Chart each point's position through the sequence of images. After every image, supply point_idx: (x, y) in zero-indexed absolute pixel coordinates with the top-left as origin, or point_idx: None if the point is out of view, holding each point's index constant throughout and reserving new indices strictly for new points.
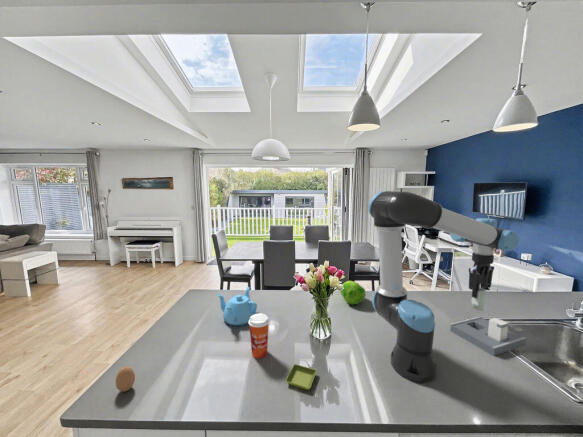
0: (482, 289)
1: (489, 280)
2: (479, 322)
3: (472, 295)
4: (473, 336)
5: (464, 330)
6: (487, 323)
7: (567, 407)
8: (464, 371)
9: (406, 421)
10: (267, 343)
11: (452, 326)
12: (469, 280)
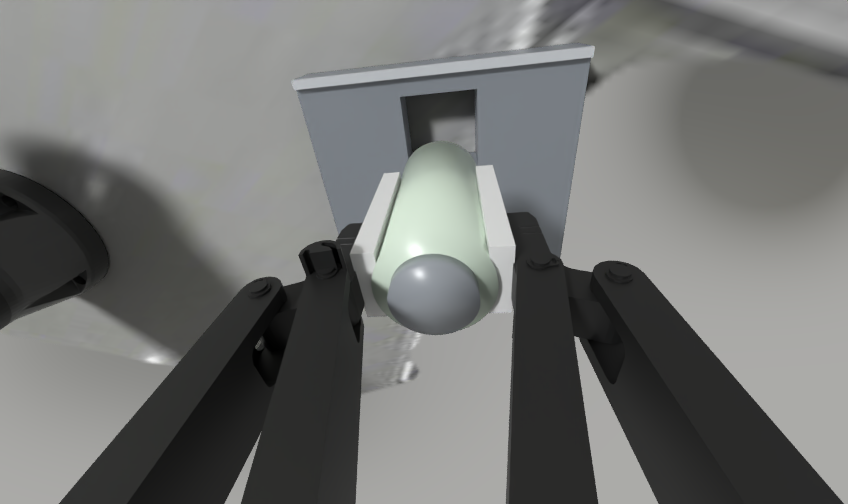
0: (424, 333)
1: (626, 435)
2: (504, 106)
3: (341, 238)
4: (336, 204)
5: (332, 153)
6: (539, 130)
7: (363, 384)
8: (204, 282)
9: (6, 334)
10: None
11: (299, 92)
12: (150, 407)
